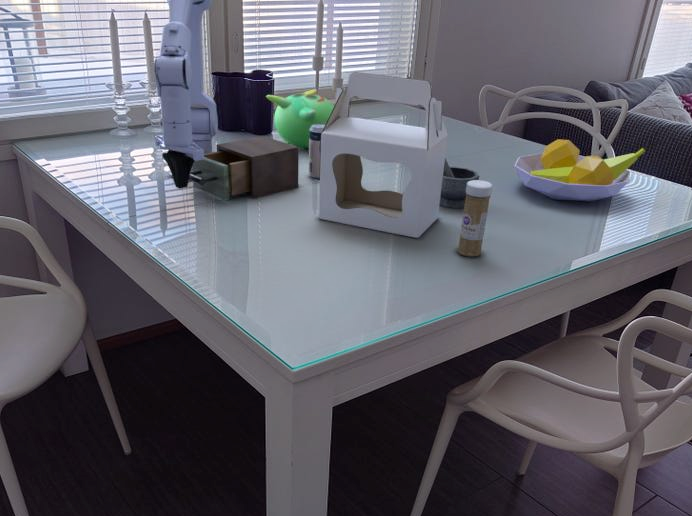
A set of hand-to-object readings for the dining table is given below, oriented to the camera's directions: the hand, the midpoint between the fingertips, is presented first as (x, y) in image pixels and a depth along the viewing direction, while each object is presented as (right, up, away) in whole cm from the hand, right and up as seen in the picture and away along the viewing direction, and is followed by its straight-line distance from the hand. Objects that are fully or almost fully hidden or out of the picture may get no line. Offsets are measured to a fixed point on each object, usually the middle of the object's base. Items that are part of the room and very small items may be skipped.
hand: (181, 187), depth 146 cm
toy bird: (+24, +22, +46) cm, 56 cm away
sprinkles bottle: (+58, -16, -15) cm, 62 cm away
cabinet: (+14, +4, +15) cm, 21 cm away
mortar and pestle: (+58, -1, +10) cm, 59 cm away
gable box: (+41, -7, -1) cm, 42 cm away
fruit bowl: (+89, +3, +19) cm, 91 cm away
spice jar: (+28, +8, +23) cm, 37 cm away
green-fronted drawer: (+7, +1, +8) cm, 11 cm away
